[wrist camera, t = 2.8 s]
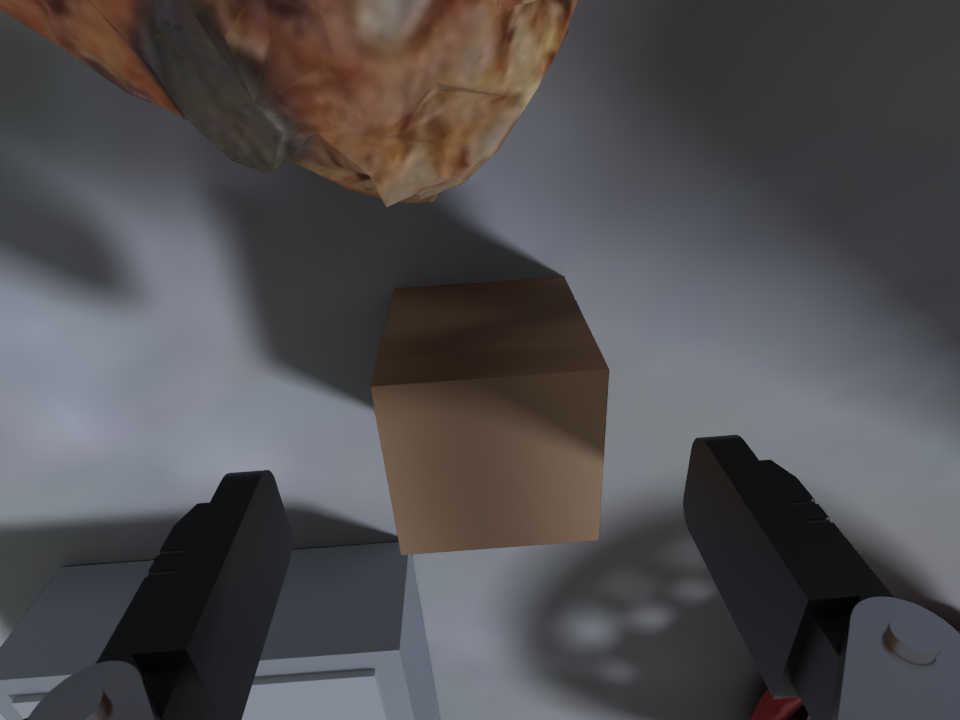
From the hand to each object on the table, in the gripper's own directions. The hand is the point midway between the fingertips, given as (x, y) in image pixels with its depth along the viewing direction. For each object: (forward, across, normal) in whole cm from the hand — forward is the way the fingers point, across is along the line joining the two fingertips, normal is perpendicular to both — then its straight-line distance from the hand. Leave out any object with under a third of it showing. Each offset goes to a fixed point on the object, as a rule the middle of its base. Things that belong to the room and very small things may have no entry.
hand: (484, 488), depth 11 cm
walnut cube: (+6, 0, 0) cm, 6 cm away
